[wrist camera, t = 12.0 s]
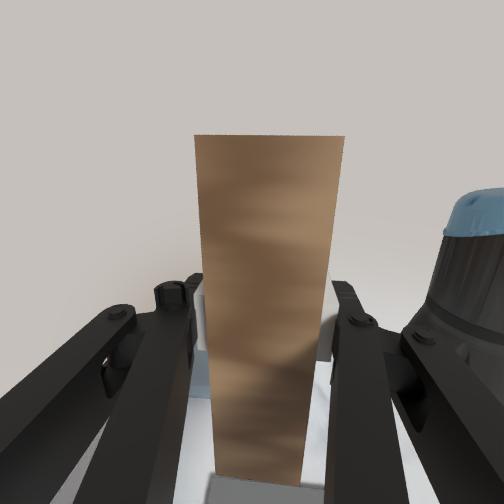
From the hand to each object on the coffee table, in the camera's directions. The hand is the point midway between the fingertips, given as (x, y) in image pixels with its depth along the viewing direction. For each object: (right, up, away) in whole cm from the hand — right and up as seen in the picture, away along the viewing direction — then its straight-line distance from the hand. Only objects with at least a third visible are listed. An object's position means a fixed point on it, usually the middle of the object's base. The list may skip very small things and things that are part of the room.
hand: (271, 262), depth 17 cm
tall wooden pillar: (-1, -9, -2) cm, 10 cm away
